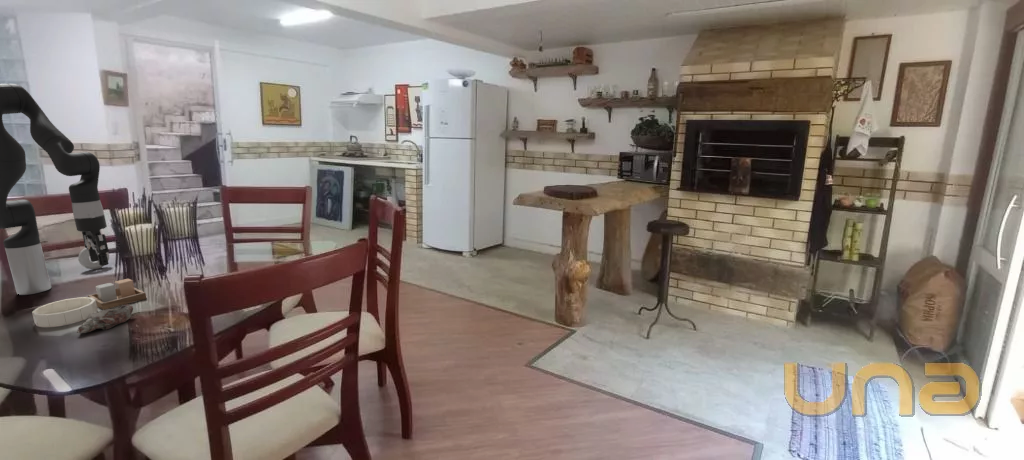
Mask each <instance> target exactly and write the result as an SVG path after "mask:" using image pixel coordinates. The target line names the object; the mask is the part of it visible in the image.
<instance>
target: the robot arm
mask: <svg viewBox="0 0 1024 460" xmlns="http://www.w3.org/2000/svg"><path fill="white" fill-rule="evenodd" d="M10 114H23V115H24V116H26V117H27V118H28V119H29V121H30V122H29V123H30V125H29V131H30V136H31V138H32V140H33V141H34V142H35V143H36V144H37V145H38V146H39V147H40V148H41V149H43V151H44V152H46V154H47V155H48V157H49V158H50V160H51V162H52V163H53V166H54V167H55V168H54V169H56V171H58V173H60V174H61V175H63V176H66V177H75V176H80V180H79V181H77V182H75V183H72V184H70V185H69V187H68V192H69V193H68V194H69V197H70V201H71V210H72V214H73V219H74V223H75V228H76V231H77V232H81V234H82V238H83V243H84V248H87V250H88V251H89V255H90V256H89V260H91V261H92V262H95V261H99V265H101V266H103V267H104V265H105V266H107V265H109V264H110V263H109V261H108V258H107V254H106V253H107V252H108V253H109V252H110V250H109V247H108V242H107V238H106V234H105V233H101V230H104V229H106V228H107V220H106V217H105V211H104V207H103V205H102V204H103V203H102V202H101V198H100V194H99V187H98V186H99V177H100V169H101V164H100V161H99V160H98V158H97V156H96V155H95V154H93V153H92V152H90V151H89V152H87V151H82V152H73V151H74V150H75V146H74V144H73V142H72V141H71V140H70V139H69V138H68V137H67V136H66V135H65V134H64V133H63V132H62V131H60V130H59V129H58V128H57V126H55V124H53V122H52V121H50V119H49V117H48V116H47V115H46V113H45V112H44V111H43V109H42V108H41V107H40V106H39V104H38V103H37V102H36V101H35V99H34V98H33V96H32V95H31V94H30V93H29V92H28V90H26V88H24V87H23V86H22V85H19V84H18V83H0V230H3V229H4V230H5V229H11V228H12V229H13V228H19V227H21V228H20V230H18V231H17V232H16V233H14V234H12V235H10V236H8V237H6V238H5V239H4V240H3V243H2V244H3V245H4V246H3V247H4V250H5V253H6V257H7V261H8V265H9V269H10V273H11V276H12V277H11V278H12V280H13V284H14V289H15V291H16V294H17V295H18V294H19V296H27V295H34V294H39V293H42V292H46V291H49V290H50V289H51V288H52V283H51V280H50V276H49V272H48V268H47V264H46V260H45V256H44V251H43V248H42V243H41V240H40V233H39V229H38V228H39V227H38V223H37V217H36V212H35V208H34V206H33V204H32V203H31V201H30V200H28V199H14V200H8V196H9V194H10V192H11V190H12V189H13V188H14V187H15V185H16V184H17V183H18V182H19V181H20V180H21V178H22V177H23V176H24V174H25V172H26V170H27V160H26V151H25V148H24V147H23V146H22V145H21V144H20V143H19V141H18V140H16V138H15V137H13V136H12V135H11V134H10V132H9V131H8V130H7V129H6V128H5V125H4V121H3V115H10ZM100 248H103V249H102V250H101V249H100Z"/></svg>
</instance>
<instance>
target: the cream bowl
mask: <svg viewBox="0 0 1024 460" xmlns="http://www.w3.org/2000/svg"><path fill="white" fill-rule="evenodd" d="M98 308H99V307H97V304H96V300H95V299H93V298H91V297H88V296H87V297H84V296H82V297H81V296H80V297H74V298H73V297H72V298H66V299H61V300H57V301H53V302H49V303H46V304H44V305H41V306H38V307H36V308H35V309H33V311H31V314H32V317H33V318H32V319H33V321H34V324H35V325H36V327H39V328H55V327H62V326H68V325H71V324H76V323H79V322H81V321H85V320H87V317H88V316H89V314H90V313H94V314H96V313H97V312H99V309H98Z"/></svg>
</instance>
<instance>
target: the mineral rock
mask: <svg viewBox="0 0 1024 460" xmlns="http://www.w3.org/2000/svg"><path fill="white" fill-rule="evenodd" d="M133 310H134V306H133V305H132V304H130V303H128V304H124V305H121V306H118V307H117V308H116V307H115V308H109V309H106V310H102V309H101V310H100V311H99V310H98V311H97V313H96V314H94V313H90V314H89V316H88V317H87V319H85V320H84V322H83V323H82V324H80V326H79V327H78V329H77V331H76V334H86V333H91V332H93V331H95V330H98V329H102V330H105V329H106V330H109V329H111V328H113V327H115V326H116V325H119V324H122V323H125V322H127V321H128V320H129V319H130V318H131V316H132V314H133V312H134V311H133ZM106 330H105V331H106Z"/></svg>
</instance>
